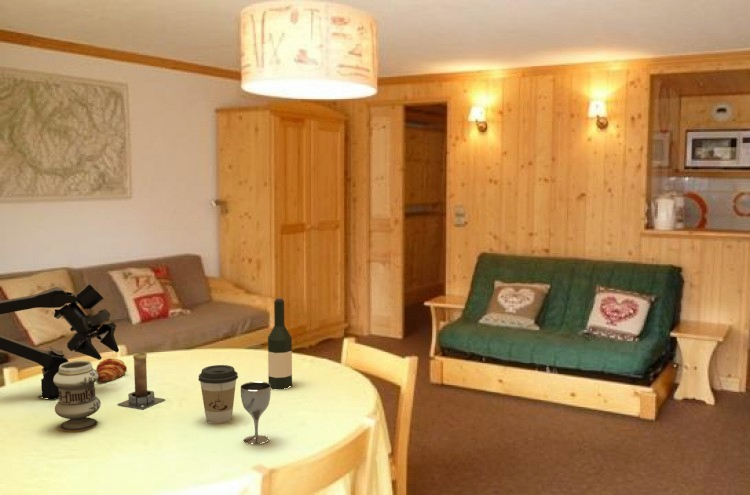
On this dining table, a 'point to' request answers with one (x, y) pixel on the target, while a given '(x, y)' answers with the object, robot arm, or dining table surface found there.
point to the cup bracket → (141, 401)
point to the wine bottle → (279, 351)
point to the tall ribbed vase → (140, 374)
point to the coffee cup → (218, 392)
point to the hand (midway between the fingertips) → (109, 355)
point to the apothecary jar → (76, 395)
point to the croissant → (110, 369)
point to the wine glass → (255, 405)
